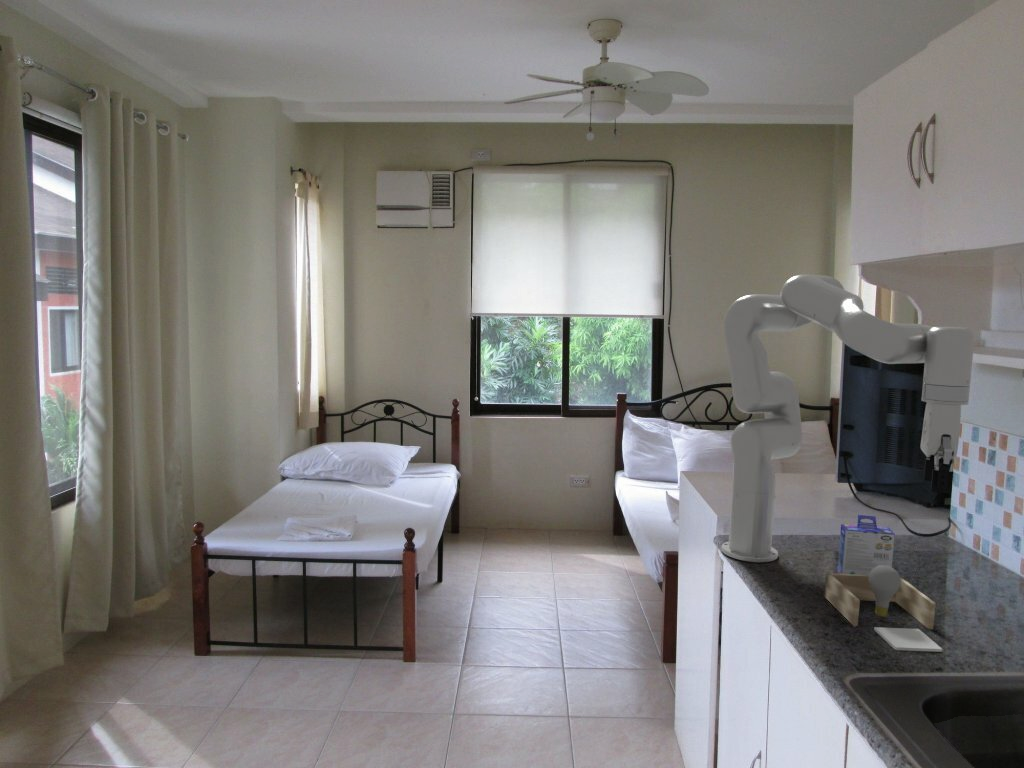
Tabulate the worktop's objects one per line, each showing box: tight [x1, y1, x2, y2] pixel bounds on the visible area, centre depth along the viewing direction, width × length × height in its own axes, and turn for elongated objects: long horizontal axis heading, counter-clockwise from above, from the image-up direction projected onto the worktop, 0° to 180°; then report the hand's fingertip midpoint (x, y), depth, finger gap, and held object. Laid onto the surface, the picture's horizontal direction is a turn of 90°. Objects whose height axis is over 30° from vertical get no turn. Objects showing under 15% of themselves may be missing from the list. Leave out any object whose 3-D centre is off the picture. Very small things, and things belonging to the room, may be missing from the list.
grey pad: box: [873, 626, 943, 653], centre depth 137 cm, size 8×8×1 cm
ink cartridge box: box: [837, 514, 896, 575], centre depth 163 cm, size 10×6×14 cm, turn 78°
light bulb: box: [869, 565, 901, 619], centre depth 146 cm, size 6×6×10 cm
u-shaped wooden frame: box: [824, 572, 936, 630], centre depth 149 cm, size 14×15×5 cm
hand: (936, 486), depth 143 cm, fingers open, 9 cm apart
